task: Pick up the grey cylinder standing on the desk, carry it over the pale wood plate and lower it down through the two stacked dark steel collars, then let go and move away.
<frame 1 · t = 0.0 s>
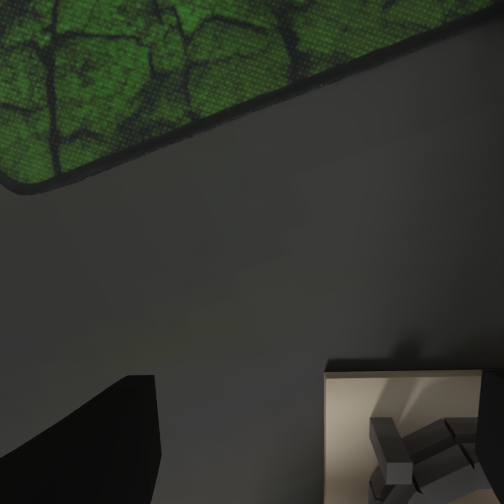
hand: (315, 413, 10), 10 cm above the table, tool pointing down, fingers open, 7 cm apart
collar plate: (456, 490, 22), on the table
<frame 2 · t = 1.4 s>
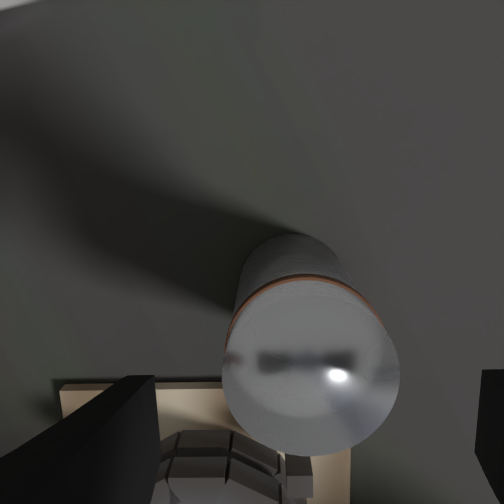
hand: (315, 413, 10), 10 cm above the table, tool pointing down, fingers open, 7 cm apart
collar plate: (213, 502, 22), on the table
grey cylinder: (292, 285, 19), on the table
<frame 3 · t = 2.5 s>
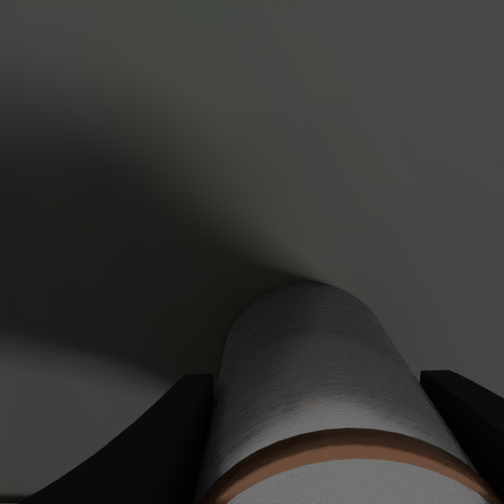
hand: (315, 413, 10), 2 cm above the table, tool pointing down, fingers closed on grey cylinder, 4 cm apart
grey cylinder: (305, 361, 12), on the table, touching gripper
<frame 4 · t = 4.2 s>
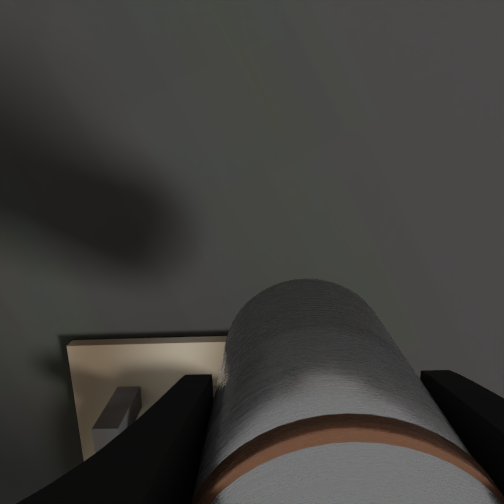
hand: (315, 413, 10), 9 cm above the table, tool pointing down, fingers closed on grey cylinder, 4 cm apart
collar plate: (226, 463, 21), on the table
grey cylinder: (305, 356, 12), point 7 cm above the table, touching gripper
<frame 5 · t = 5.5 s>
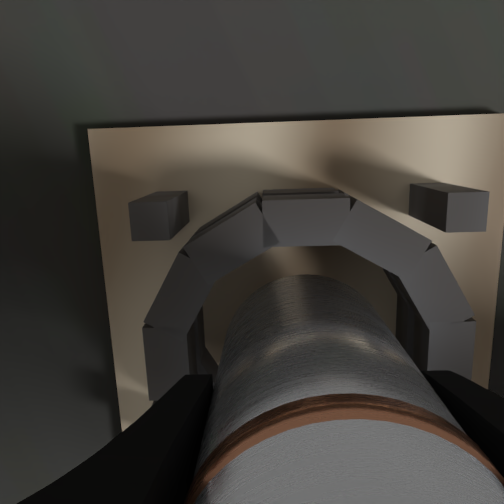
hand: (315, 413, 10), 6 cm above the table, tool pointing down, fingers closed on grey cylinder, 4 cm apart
collar plate: (297, 314, 16), on the table
grey cylinder: (305, 353, 12), point 3 cm above the table, touching gripper
when the fingers open (5 cm above the table, at t = 6.1 s): grey cylinder drops 2 cm, resting on collar plate.
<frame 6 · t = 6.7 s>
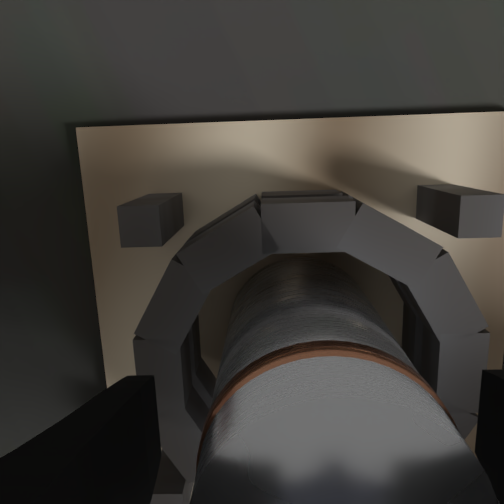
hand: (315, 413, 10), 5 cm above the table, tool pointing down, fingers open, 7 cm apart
collar plate: (298, 322, 15), on the table
grey cylinder: (300, 325, 14), point 1 cm above the table, touching collar plate
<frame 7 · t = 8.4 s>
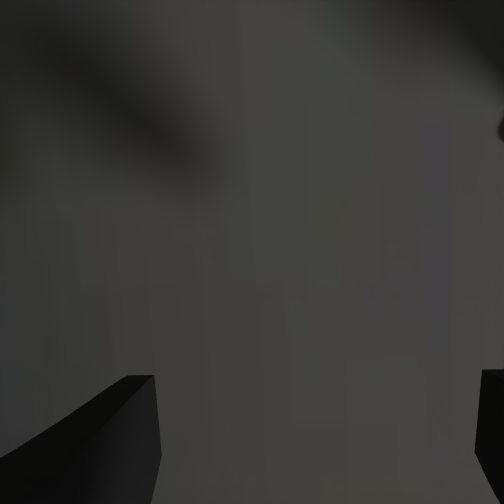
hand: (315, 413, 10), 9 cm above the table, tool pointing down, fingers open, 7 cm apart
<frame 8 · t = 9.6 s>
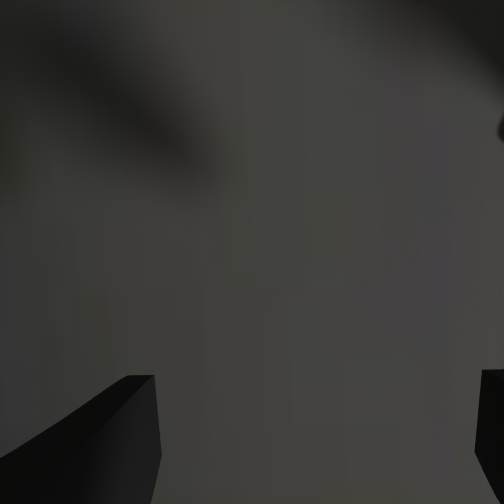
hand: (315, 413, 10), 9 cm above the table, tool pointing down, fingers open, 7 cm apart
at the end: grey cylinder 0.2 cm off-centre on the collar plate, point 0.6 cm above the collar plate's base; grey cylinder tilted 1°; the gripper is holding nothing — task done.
